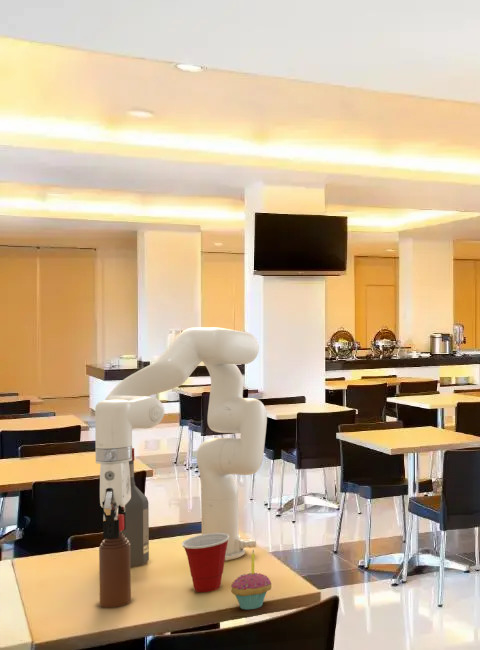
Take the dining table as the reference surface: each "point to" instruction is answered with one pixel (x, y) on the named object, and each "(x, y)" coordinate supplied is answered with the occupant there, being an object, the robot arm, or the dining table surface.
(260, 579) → the cupcake
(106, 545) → the sauce bottle
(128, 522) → the liquor
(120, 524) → the cap
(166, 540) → the dining table surface
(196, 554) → the plastic cup
